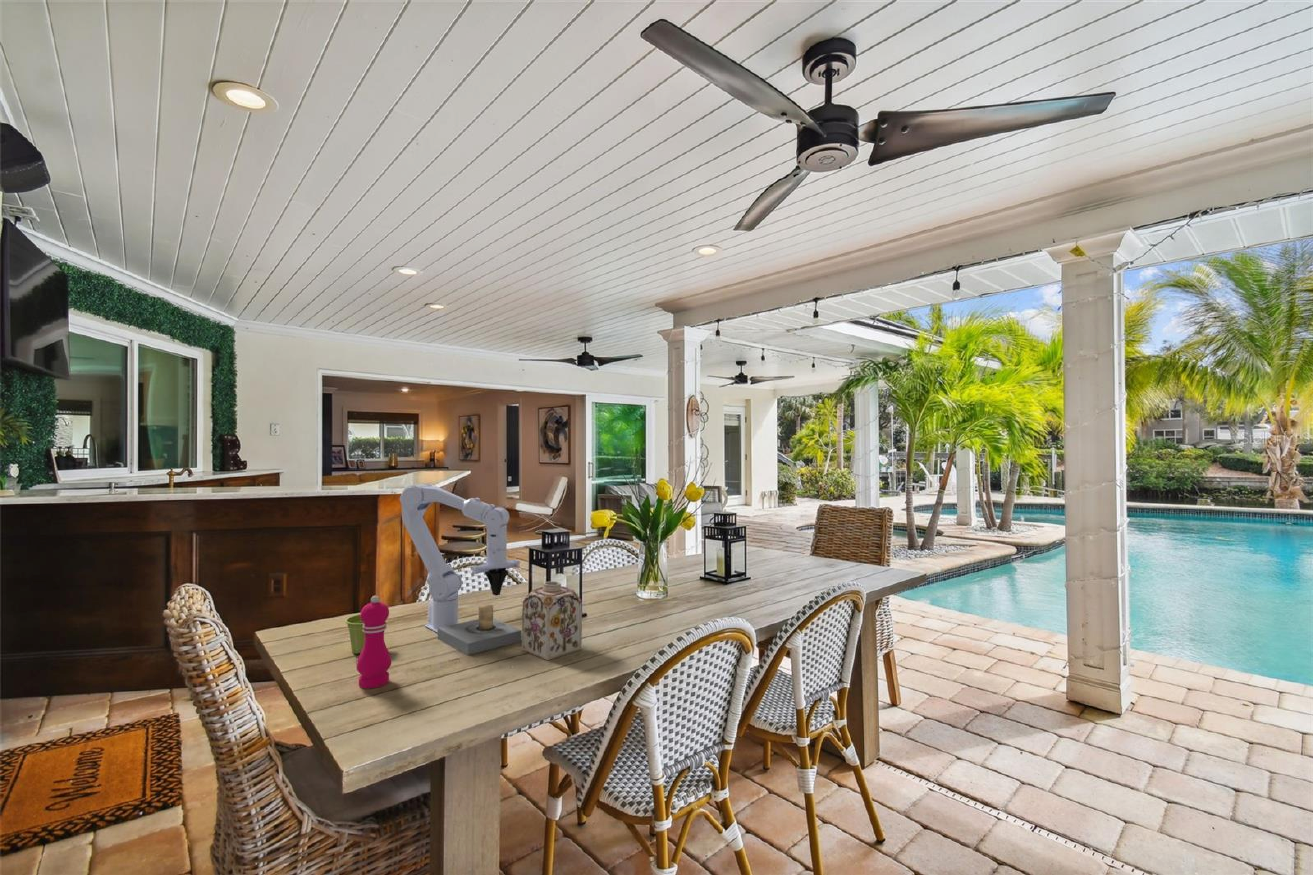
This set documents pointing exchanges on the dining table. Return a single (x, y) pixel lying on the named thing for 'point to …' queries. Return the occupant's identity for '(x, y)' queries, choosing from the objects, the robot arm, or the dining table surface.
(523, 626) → the decorative jar
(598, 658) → the dining table surface
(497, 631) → the grey peg hole board
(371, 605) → the pepper mill
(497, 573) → the robot arm
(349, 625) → the plant pot
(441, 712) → the dining table surface
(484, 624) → the oak peg
